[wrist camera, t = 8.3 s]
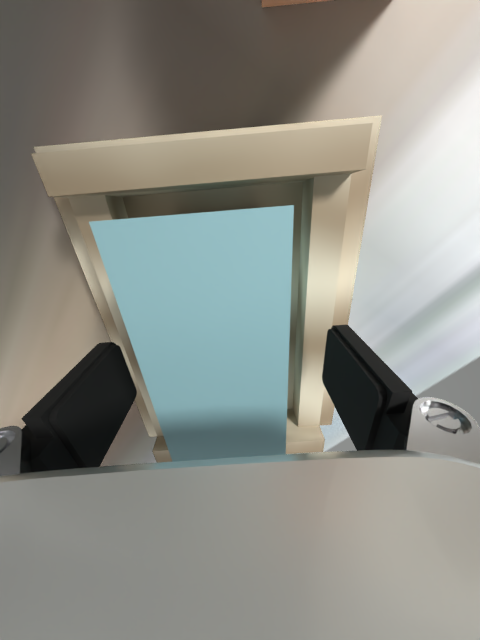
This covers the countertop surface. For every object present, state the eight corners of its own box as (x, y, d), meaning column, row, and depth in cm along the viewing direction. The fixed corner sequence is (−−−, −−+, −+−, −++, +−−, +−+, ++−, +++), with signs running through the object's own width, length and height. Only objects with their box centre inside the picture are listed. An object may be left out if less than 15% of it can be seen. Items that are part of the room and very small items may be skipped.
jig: (55, 153, 10) (-35, 126, 7) (365, 125, 10) (433, 82, 6) (154, 423, 18) (136, 471, 15) (325, 411, 18) (346, 457, 14)
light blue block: (172, 215, 10) (88, 221, 4) (259, 207, 10) (294, 205, 4) (208, 403, 15) (192, 519, 10) (265, 399, 15) (283, 513, 10)
